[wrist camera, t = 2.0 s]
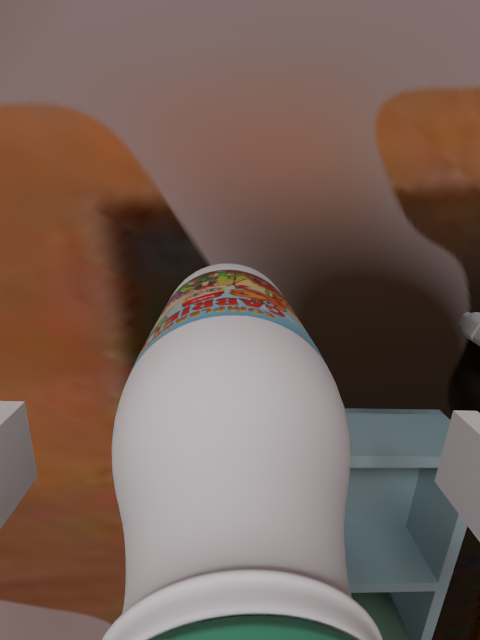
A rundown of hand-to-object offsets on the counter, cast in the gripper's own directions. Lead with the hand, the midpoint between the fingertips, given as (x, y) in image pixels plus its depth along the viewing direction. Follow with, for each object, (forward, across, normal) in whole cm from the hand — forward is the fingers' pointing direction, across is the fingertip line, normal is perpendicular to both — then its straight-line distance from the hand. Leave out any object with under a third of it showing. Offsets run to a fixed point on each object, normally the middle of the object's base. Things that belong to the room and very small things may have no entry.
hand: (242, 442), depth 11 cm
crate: (+12, +10, -17) cm, 23 cm away
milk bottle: (+12, 0, 0) cm, 12 cm away
